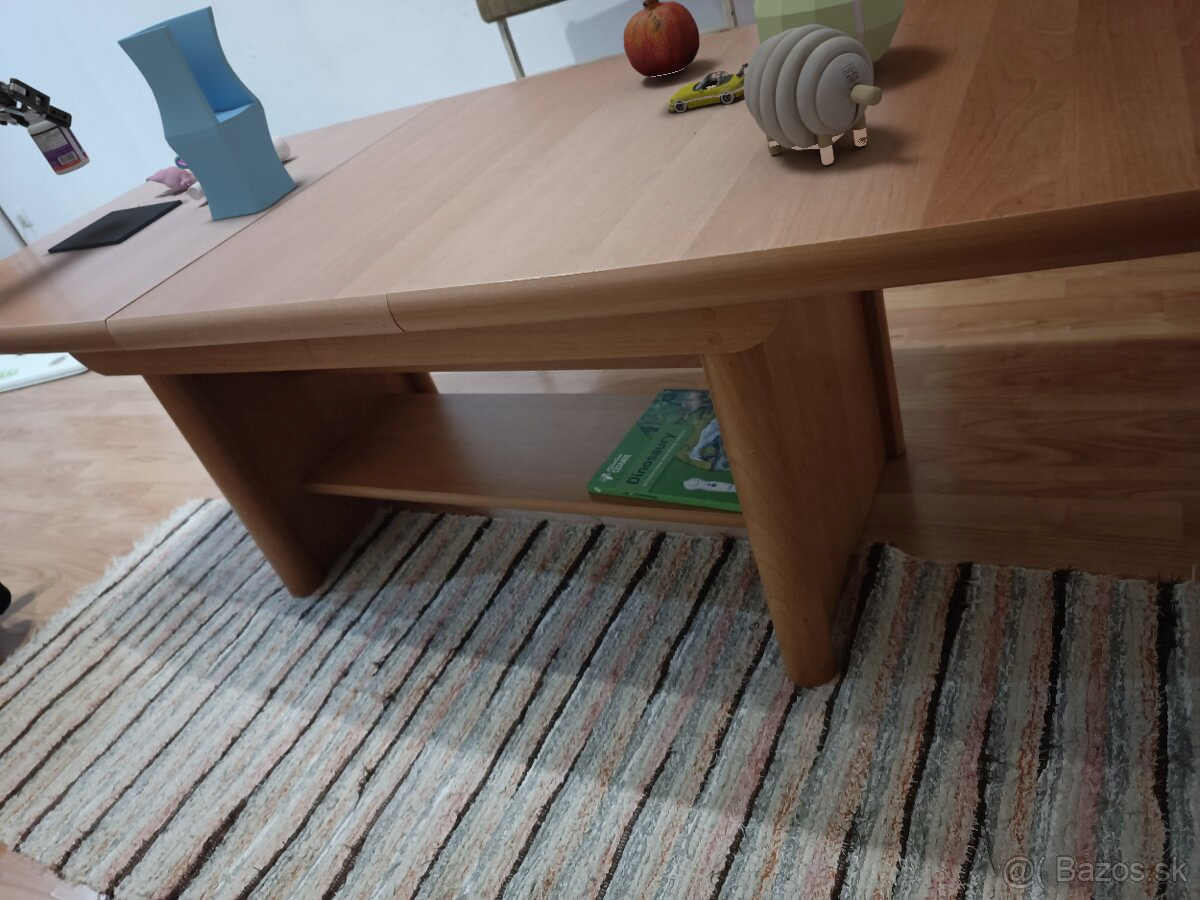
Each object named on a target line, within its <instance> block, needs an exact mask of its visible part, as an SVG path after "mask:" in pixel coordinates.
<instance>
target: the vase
mask: <svg viewBox="0 0 1200 900" xmlns="http://www.w3.org/2000/svg"><path fill="white" fill-rule="evenodd" d="M116 43H117V44H118V46H119V47H120V48H121V49H122V50H123V51H124V53H125V54H126V55H127V56H128V57H129V59H130V60H131V61H132V63H133V64H134V65H135V67H136V68H137V69H138V71H139V72H140V74H141V75H142V77H143V78H144V79H145V82H146V83H147V85H148V87H149V88H150V89H151V93H152V94H153V96H154V97H153V98H154V100H155V102H156V104H157V108H158V111H159V115H160V119H161V123H162V124H161V125H162V129H163V135H164V139H165V141H166V143H167V144H168V146H169V148H170V149H171V150H172V151H173V152H174V153H175V154H176V156H179V157H180V158H181V160H183V162H184V163H185V164H186V165H187V166H188V168H189V169H190V170H191V171H192V173H193V174H194V176H195V177H196V179H197V180H198V182H199V183H200V185H201V187H202V189H203V191H204V194H205V200H206V202H207V204H208V208H209V211H210V215H211V219H212V221H217V220H218V221H219V220H223V219H230V218H236V217H242V216H246V215H252V214H257V213H259V212H262V211H265V210H266V209H268V208H269V207H271V206H272V205H273V204H275V203H276V202H277V201H279V200H280V199H281V198H283V197H284V196H285V195H287V194H288V193H290V192H291V191H293V190H294V189H295V188H297V185H298V184H297V183H296V181H295V180H294V178H292V176H291V175H290V173H289V172H288V170H287V168H286V167H285V166H284V164H283V162H282V160H280V158H279V156H278V154H277V152H276V150H275V147H274V145H273V142H272V139H271V136H272V135H271V133H270V129H269V125H268V124H269V123H268V120H267V117H266V116H267V115H266V111H265V107H264V106H263V104H262V102H261V100H260V99H259V98H258V97H257V95H255V94H254V93H253V92H252V90H250V89H249V88H248V86H247V85H246V84H245V83H244V82H243V81H242V80H241V79H240V77H239V76H238V75H237V73H236V72H235V70H234V69H233V67H232V66H231V64H230V63H229V60H228V59H227V56H226V54H225V52H224V50H223V46H222V44H221V41H220V37H219V34H218V29H217V25H216V20H215V16H214V12H213V7H212V6H211V5H209V6H206V7H202V8H199V9H196V10H193V11H190V12H187V13H184V14H181V15H179V16H175V17H172V18H168V19H166V20H162V21H160V22H158V23H155V24H153V25H150V26H148V27H146V28H143V29H141V30H139V31H136V32H134V33H131V34H129V35H128V36H124V37H123V38H120V39H119V40H117V41H116ZM189 169H188V170H189ZM190 170H189V171H190ZM191 171H190V172H191Z"/></svg>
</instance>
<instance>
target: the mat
mask: <svg viewBox="0 0 1200 900" xmlns="http://www.w3.org/2000/svg"><path fill="white" fill-rule="evenodd" d="M182 204H183V201H182V200H181V199H177V200H171V201H165V202H160V203H153V204H148V205H141V206H136V207H130V208H124V209H118V210H112V211H110V212H108V213H107V214H105V215H103V216H101V217H99V218H98V219H96V220H95V221H93V222H91V223H90V224H88V225H87V226H85V227H83V228H81V229H80V230H78V231H76V232H75V233H73V234H71V235H70V236H68V237H67V238H65V239H63V240H62V241H60V242H58V243H57V244H54V245H52V247H50V248H49V249H46V250H47V252H48V253H49V254H54V253H62V252H70V251H77V250H84V249H89V248H96V247H97V248H98V247H105V246H111V245H118V244H121V243H122V242H124V241H125V240H127V239H128V238H130V237H132V236H133V235H135V234H137V233H138V232H140V231H142V230H143V229H144V228H146V227H147V226H149V225H151V224H152V223H153V222H155V221H157V220H159V219H160V218H161V217H163V216H164V215H166V214H167V213H169V212H171V211H173V210H174V209H175V208H177V207H179V206H181V205H182Z"/></svg>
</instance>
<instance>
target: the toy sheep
mask: <svg viewBox="0 0 1200 900" xmlns="http://www.w3.org/2000/svg"><path fill="white" fill-rule="evenodd" d="M751 55H752V56H751V57H750V58H749V59H750V60H749V61H748V66H747V68H745V69H746V70H745V73H744V74H745V76H743V77H741V78H740V79H741V80H744V101H745V104H746V109H748V112H749V113H750V115H751V117H752V118H753V119H754V121H755V123H756V124H757V127H759V129H760V130H761V131H762V132H763V133H764V134H765V137H766V142H767V141H768V142H771V141H776V142H777V143H778V144H779V145H776V146H772V147H770V146H768V145H767V148H768V153H769V154H770V155H771V156H777V155H779V154H781V152H782V150H783V148H785V149H788V148H792V147H795V146H798V147H801V148H808V147H811V146H813V145H816V144H818V146H819V148H825V147H828V146H830V145H832V143H833V141H832V137H834V136H838V135H841V134H843V133H845V132H846V131H847V132H848V131H849V130H852V129H853V130H861V129H864V128H866V127H867V120H866V113H865V112H866V111H867V108H868V106H871V107H874V106H877V105H879V104H880V103H881V101H882V99H883V90H882V89H881V88H880V87H878V86H874V82H875V80H874V79H875V75H874V73H875V72H874V65H873V64H872V61H871V59H870V56H869V54H868V52H867V50H866V49H865V48H864V46H863V45H862V44H861V43H860V42H858V41H857V40H855V39H853V38H851V37H849V36H848V35H847V34H845V33H844V32H842V31H839V30H836V29H831V28H829V27H826V26H823V25H818V24H811V25H806V26H802V27H797V28H791V29H788V30H786V31H784V32H782V33H780V34H778V35H775V36H773V37H771V38H769V39H767V40H766V41H765V42H763V43H762V44H761V45H759V46H758V47H757V49H755V51H754V52H753V54H751ZM847 132H846V133H847ZM846 133H845V134H846ZM860 139H861V140H860ZM860 139H859V140H860V141H862V142H863V141H864V143H865V141H866V139H867V141H866V143H867V142H868V143H869V135H868V134H867V136H866V137H863V138H860ZM858 142H859V141H858ZM862 142H861V143H862ZM859 143H860V142H859ZM864 143H863V144H864ZM868 143H867V144H868ZM806 150H809V149H803V150H802V151H806ZM797 151H798V152H799V151H801V150H797Z"/></svg>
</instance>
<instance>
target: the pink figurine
mask: <svg viewBox="0 0 1200 900" xmlns="http://www.w3.org/2000/svg"><path fill="white" fill-rule="evenodd" d="M174 164H175V165H176V166H174V165H173V166H169V167H167V168H162V169H159V170H158V171H156V172H155V173H154V174H153V175H149V176H147V177H146V179H145V182H146V183H148V182H150V181H151V182H154V183H158V184H163V185H164V186H166V187H167V188H169V189H171V190H175V191H178V190H181V191H185V190H188V188H189V185H190V186H192V185H193V184H194V183H196V182H197V179H196V177H195V176H194V174H193V173H192V171H191V170H190V169H189V168H188V166H187V165H186V164H185V163H184V162H183V160H182V159H181V158H180V157H179V156H178V155H176V156H175V157H174ZM188 170H189V171H190V172H189V171H188Z"/></svg>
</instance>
